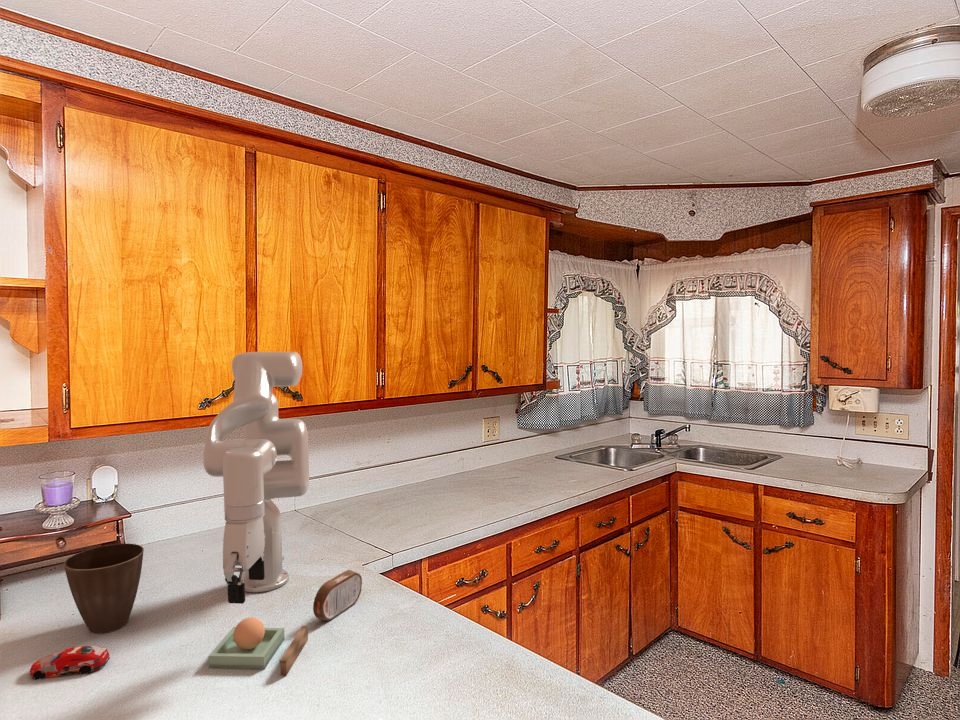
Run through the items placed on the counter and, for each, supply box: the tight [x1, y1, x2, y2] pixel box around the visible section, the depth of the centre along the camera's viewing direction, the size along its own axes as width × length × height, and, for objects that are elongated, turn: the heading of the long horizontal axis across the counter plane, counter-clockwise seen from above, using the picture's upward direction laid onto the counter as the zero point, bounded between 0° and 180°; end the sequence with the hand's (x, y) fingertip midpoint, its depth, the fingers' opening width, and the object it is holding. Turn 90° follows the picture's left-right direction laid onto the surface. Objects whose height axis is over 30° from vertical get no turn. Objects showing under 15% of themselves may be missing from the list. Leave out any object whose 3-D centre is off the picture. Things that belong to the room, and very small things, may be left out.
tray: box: [207, 626, 285, 670], centre depth 122 cm, size 11×11×2 cm
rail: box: [279, 625, 309, 677], centre depth 121 cm, size 13×1×3 cm, turn 178°
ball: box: [233, 616, 266, 650], centre depth 123 cm, size 6×6×6 cm
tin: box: [312, 569, 363, 621], centre depth 139 cm, size 15×3×8 cm, turn 154°
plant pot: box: [63, 543, 145, 635], centre depth 133 cm, size 15×15×16 cm
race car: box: [29, 645, 111, 681], centre depth 116 cm, size 13×5×4 cm, turn 102°
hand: (247, 590), depth 122 cm, fingers open, 9 cm apart
